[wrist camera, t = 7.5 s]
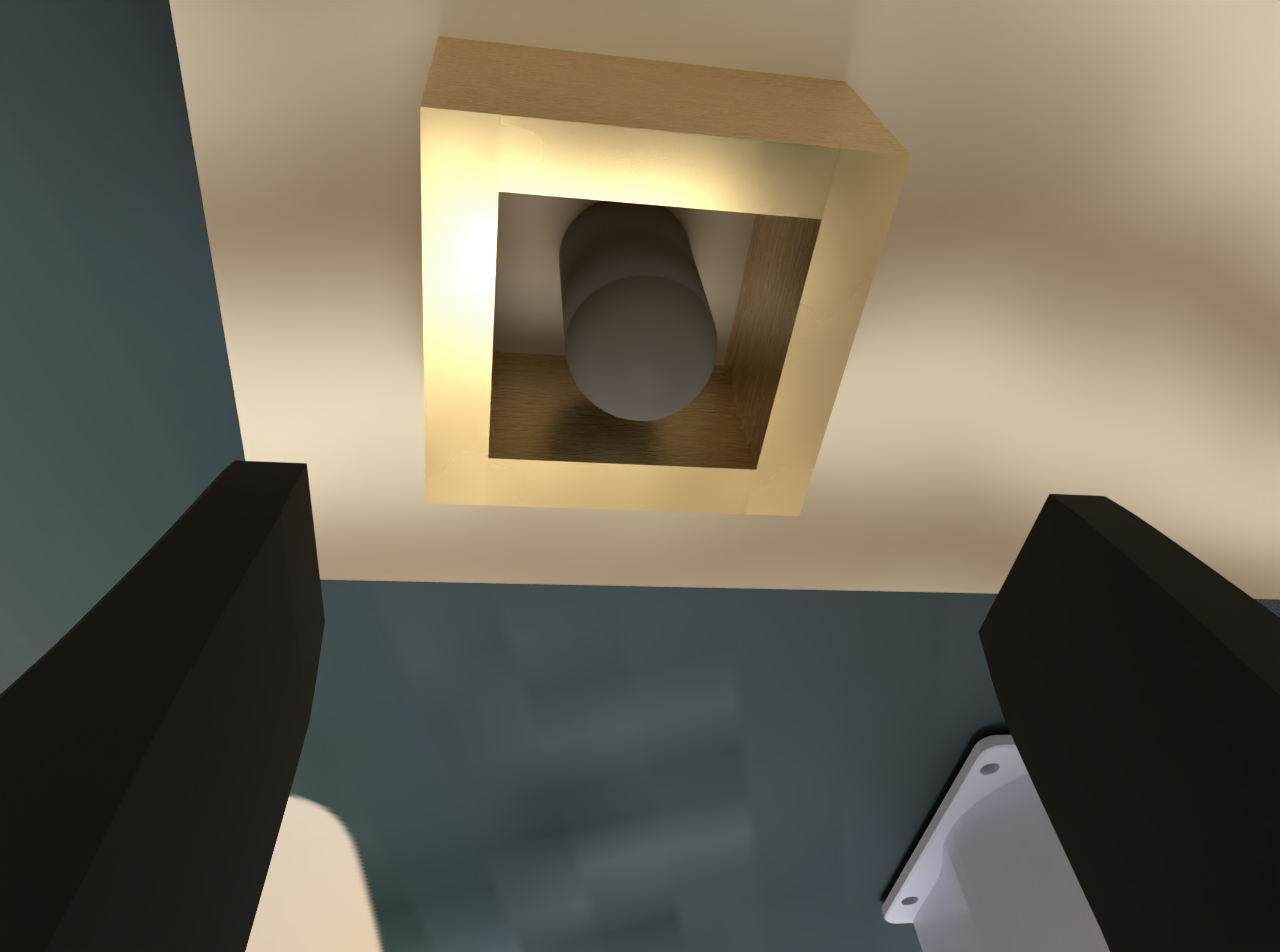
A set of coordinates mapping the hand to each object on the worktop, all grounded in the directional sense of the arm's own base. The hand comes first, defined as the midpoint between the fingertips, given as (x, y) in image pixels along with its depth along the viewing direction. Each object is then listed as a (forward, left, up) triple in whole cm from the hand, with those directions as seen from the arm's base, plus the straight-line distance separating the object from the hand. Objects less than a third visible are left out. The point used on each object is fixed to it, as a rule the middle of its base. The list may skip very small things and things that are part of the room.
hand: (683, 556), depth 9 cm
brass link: (0, 0, -7) cm, 7 cm away
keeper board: (0, -8, -8) cm, 11 cm away
